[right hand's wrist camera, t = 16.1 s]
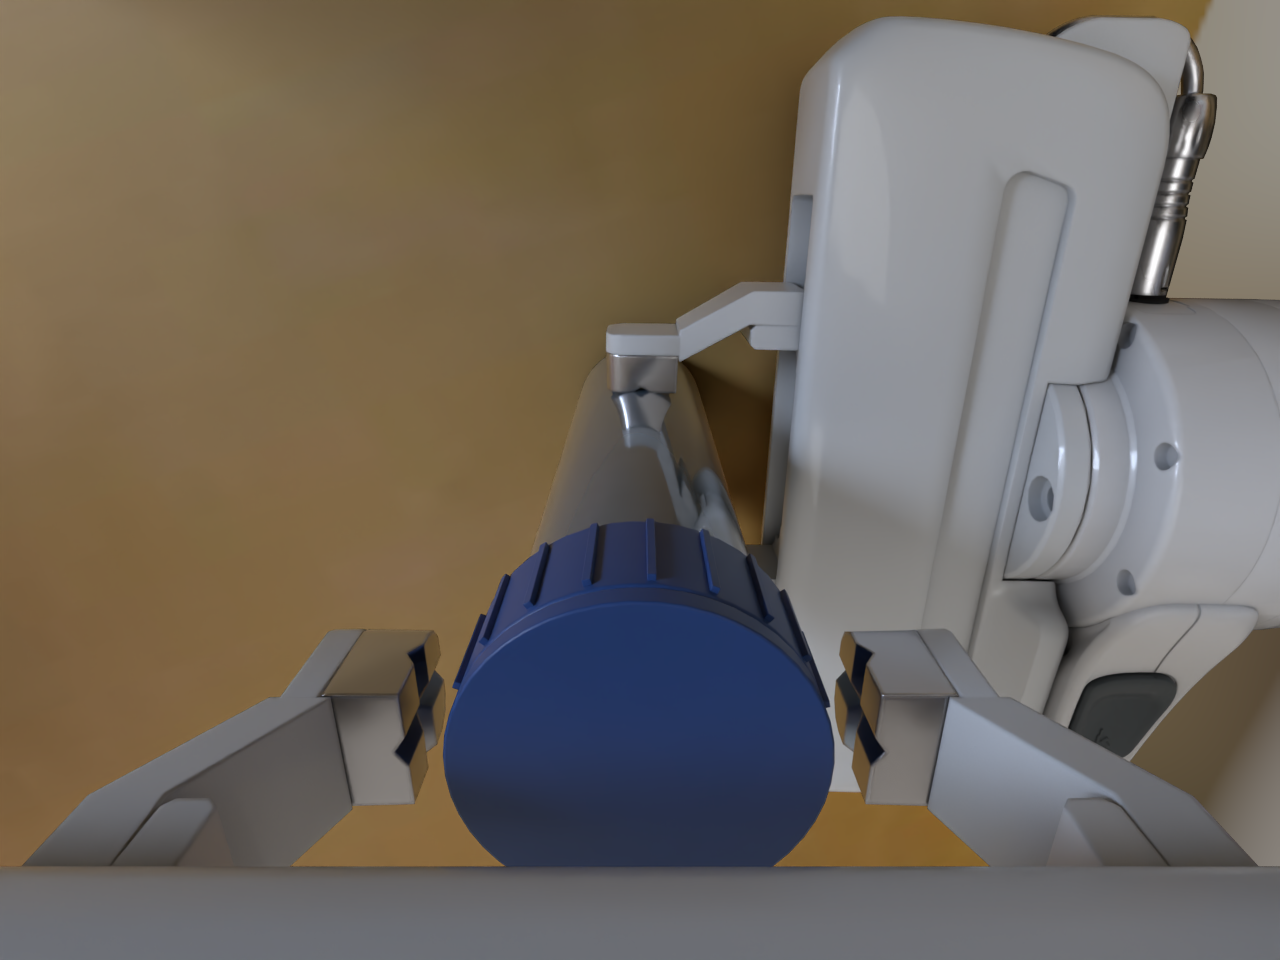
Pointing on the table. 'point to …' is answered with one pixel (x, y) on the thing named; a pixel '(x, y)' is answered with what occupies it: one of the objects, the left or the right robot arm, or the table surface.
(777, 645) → the lid
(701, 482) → the jar
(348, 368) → the table surface
